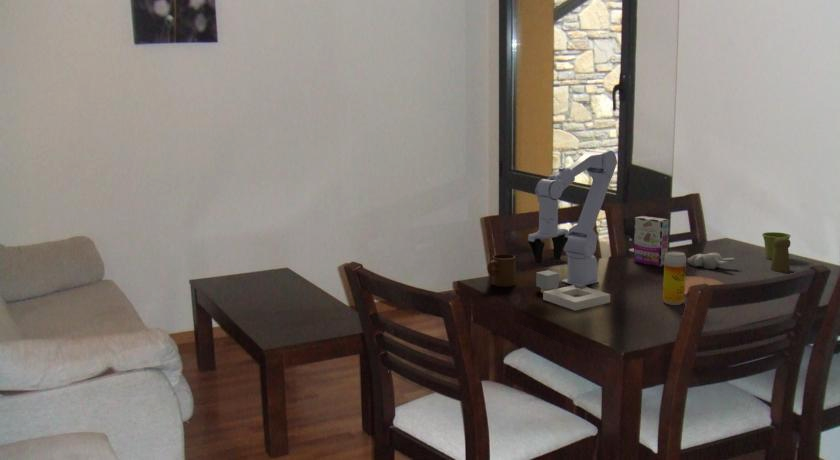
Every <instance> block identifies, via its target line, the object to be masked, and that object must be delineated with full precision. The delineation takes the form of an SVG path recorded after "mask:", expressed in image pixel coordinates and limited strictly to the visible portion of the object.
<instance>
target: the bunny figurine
mask: <svg viewBox="0 0 840 460" xmlns="http://www.w3.org/2000/svg"><path fill="white" fill-rule="evenodd" d="M686 262H687V263H688V264H689V265H691V266H692V267H695V268H696V267H702V268H704V269H706V270H707V269H708V270H709V269H711V270H715V269H716V268H719V267H720V266H728V265H729V262H730V263H731V262H732V263H733V262H734V263H736V258H735V257H726V258H722V256H721V255H720V253H718V252H709V253H705V254H702V253H697V254H693V255H692V256H690V257H688V258H686Z"/></svg>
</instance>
